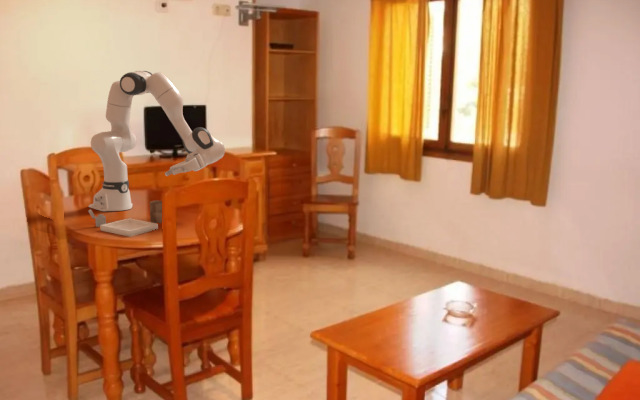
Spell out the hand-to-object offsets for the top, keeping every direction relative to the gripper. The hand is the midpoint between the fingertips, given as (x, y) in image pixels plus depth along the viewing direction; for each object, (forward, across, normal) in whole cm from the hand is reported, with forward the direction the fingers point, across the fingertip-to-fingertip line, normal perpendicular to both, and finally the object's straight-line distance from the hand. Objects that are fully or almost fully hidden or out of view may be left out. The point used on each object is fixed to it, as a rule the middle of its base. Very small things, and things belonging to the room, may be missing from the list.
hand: (169, 173), depth 275 cm
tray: (+28, +3, +14) cm, 32 cm away
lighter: (+37, -9, +8) cm, 39 cm away
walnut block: (+14, -3, +18) cm, 23 cm away
